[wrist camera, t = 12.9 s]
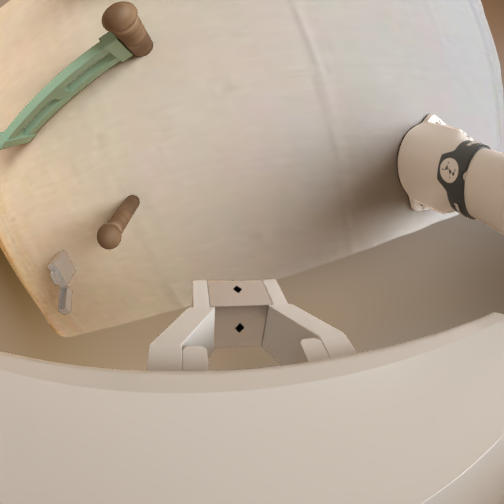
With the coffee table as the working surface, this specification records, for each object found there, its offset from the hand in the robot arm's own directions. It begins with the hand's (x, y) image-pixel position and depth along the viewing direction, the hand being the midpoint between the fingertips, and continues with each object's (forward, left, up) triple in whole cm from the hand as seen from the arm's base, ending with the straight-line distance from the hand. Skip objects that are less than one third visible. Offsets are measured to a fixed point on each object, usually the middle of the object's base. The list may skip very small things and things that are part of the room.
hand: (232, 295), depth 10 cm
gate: (+19, -11, -28) cm, 36 cm away
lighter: (+22, +16, -29) cm, 40 cm away
